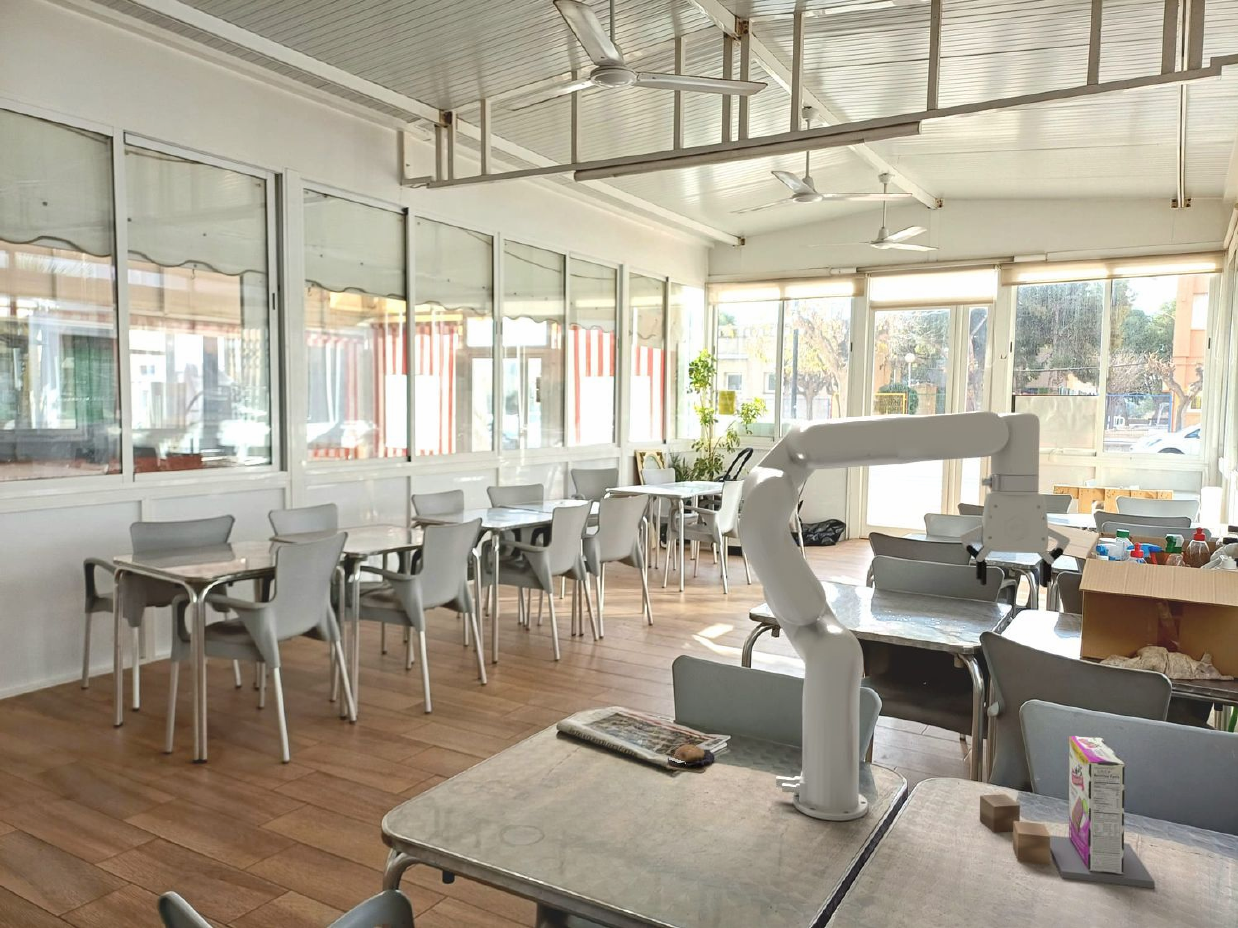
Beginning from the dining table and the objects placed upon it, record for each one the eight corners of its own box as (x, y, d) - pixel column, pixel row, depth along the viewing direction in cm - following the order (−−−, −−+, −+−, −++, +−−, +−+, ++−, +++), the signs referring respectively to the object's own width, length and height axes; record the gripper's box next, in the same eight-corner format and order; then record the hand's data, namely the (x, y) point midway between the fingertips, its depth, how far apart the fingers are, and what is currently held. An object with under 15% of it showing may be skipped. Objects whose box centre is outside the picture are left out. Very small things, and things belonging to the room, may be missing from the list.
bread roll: (704, 777, 168) (704, 758, 168) (662, 770, 172) (662, 751, 171) (719, 758, 178) (719, 739, 178) (678, 752, 181) (678, 734, 181)
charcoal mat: (1061, 877, 129) (1061, 870, 129) (1044, 840, 141) (1044, 834, 141) (1154, 888, 126) (1154, 881, 126) (1128, 849, 138) (1129, 843, 138)
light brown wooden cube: (1017, 861, 134) (1018, 832, 134) (1013, 848, 138) (1013, 820, 138) (1049, 865, 133) (1050, 836, 133) (1043, 852, 137) (1044, 823, 137)
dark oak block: (993, 833, 144) (993, 806, 143) (979, 821, 148) (980, 795, 148) (1019, 831, 144) (1019, 805, 144) (1004, 820, 148) (1005, 794, 148)
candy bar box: (1066, 838, 139) (1067, 734, 139) (1101, 841, 138) (1103, 736, 138) (1086, 872, 128) (1088, 760, 128) (1125, 876, 127) (1127, 762, 127)
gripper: (963, 485, 151) (961, 586, 151) (1075, 487, 146) (1073, 591, 147) (958, 483, 158) (956, 579, 158) (1064, 484, 153) (1063, 583, 154)
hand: (1013, 585), depth 153 cm, fingers open, 9 cm apart
